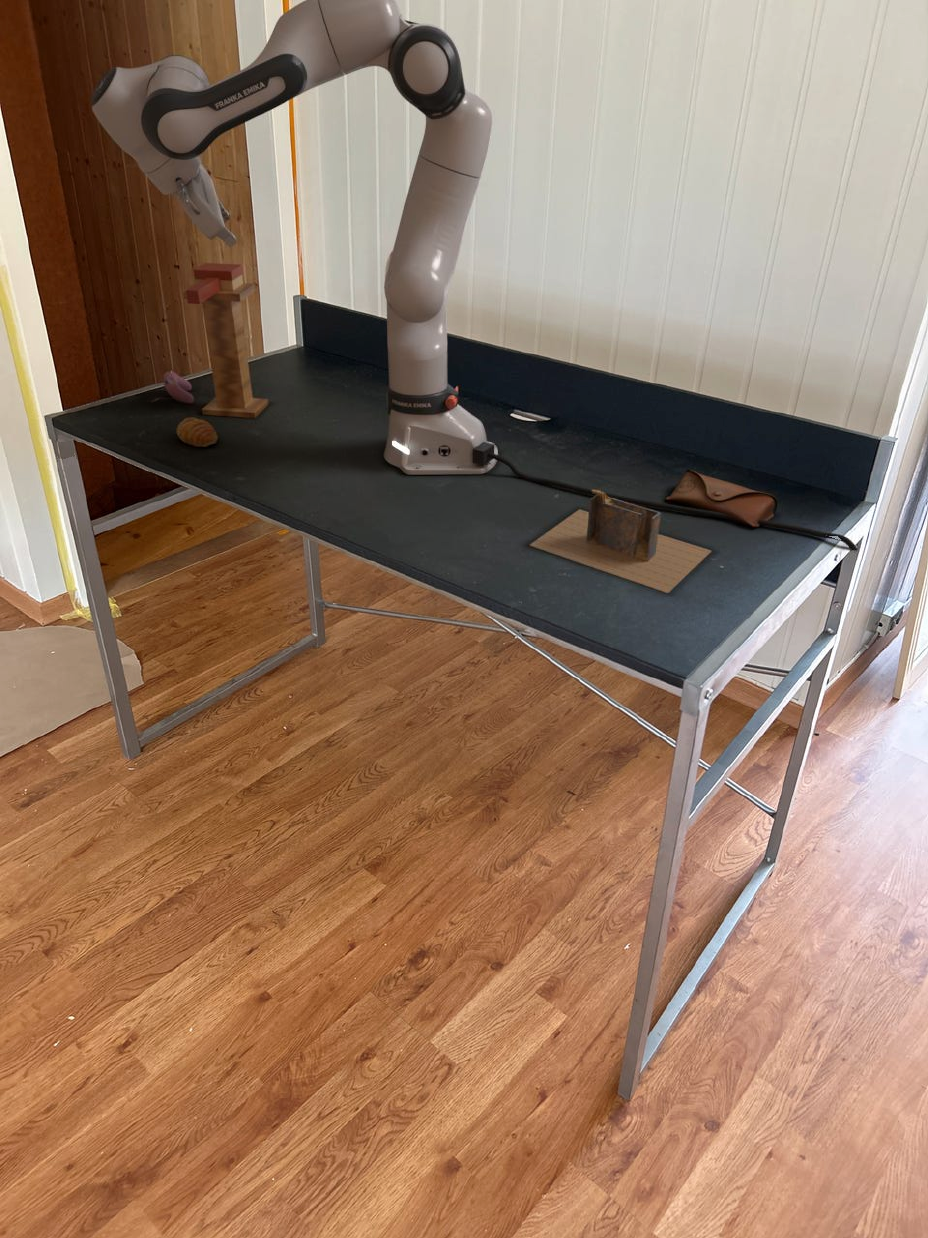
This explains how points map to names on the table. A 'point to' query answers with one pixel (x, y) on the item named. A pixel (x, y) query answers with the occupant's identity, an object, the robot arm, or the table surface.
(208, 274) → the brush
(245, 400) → the stand
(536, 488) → the table surface
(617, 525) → the ruin model on sheet
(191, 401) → the video game controller
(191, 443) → the pastry
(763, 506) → the sunglasses case
